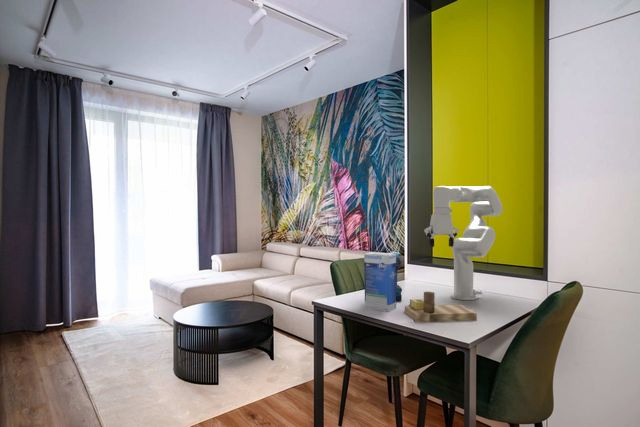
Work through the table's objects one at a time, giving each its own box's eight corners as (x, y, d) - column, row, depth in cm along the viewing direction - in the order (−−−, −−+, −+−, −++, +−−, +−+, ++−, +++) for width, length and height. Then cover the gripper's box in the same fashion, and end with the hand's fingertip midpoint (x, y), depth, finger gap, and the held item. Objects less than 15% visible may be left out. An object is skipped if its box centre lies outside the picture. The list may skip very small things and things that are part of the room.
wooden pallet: (459, 310, 164) (459, 304, 164) (477, 320, 150) (477, 313, 150) (404, 312, 161) (404, 305, 161) (417, 322, 147) (417, 315, 147)
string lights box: (396, 309, 166) (396, 253, 166) (389, 312, 160) (389, 255, 160) (371, 304, 175) (371, 251, 175) (363, 308, 169) (363, 253, 169)
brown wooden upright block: (431, 315, 154) (431, 291, 154) (436, 318, 150) (436, 293, 150) (421, 316, 154) (422, 291, 154) (426, 319, 149) (426, 294, 149)
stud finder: (426, 305, 161) (426, 298, 161) (431, 308, 156) (431, 301, 156) (411, 306, 160) (411, 299, 160) (415, 309, 155) (415, 301, 155)
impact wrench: (398, 295, 196) (399, 249, 196) (404, 305, 173) (404, 253, 173) (384, 294, 197) (384, 248, 196) (388, 305, 174) (388, 253, 174)
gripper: (454, 211, 180) (454, 245, 180) (421, 211, 178) (421, 246, 178) (462, 211, 173) (462, 247, 173) (427, 211, 171) (427, 247, 171)
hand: (441, 246), depth 175 cm, fingers open, 9 cm apart
